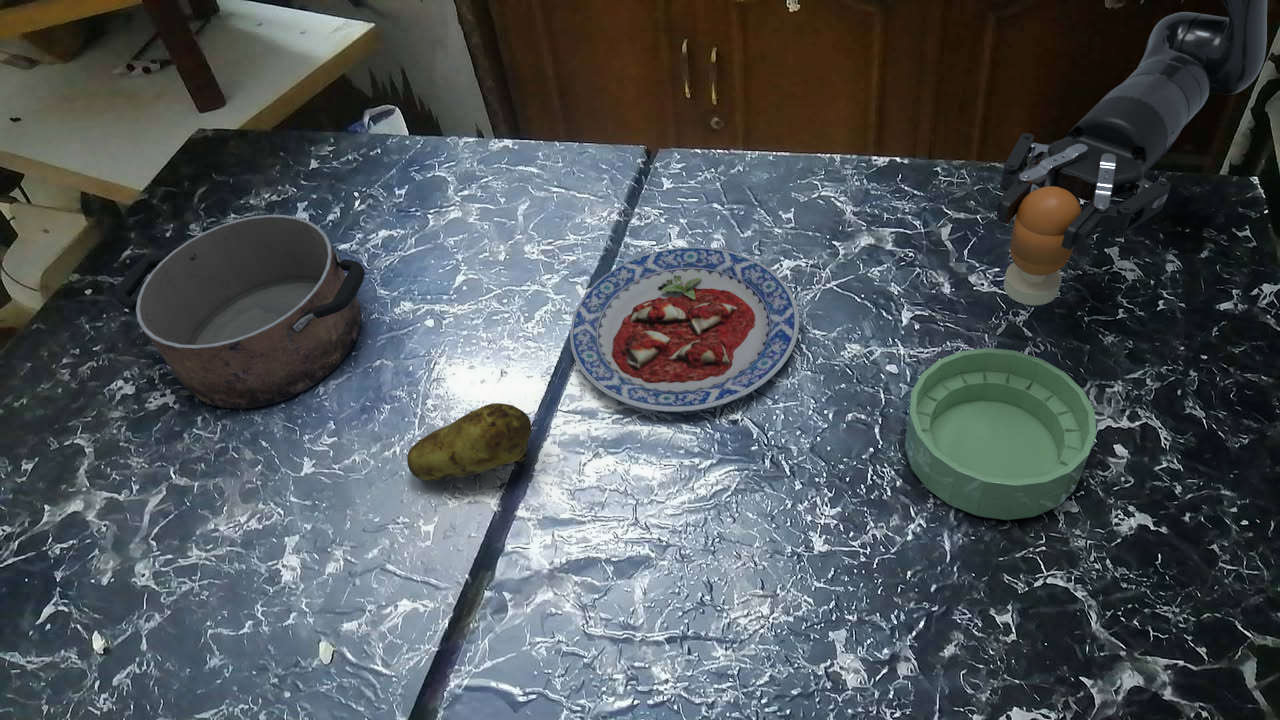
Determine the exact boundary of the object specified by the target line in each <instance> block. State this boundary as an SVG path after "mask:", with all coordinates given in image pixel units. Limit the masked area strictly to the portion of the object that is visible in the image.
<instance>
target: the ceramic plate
mask: <svg viewBox="0 0 1280 720" xmlns="http://www.w3.org/2000/svg"><path fill="white" fill-rule="evenodd" d="M799 313H800V312H799V309H798V304H797V302H796V299H795V297H794V295H793V293H792V291H791V289H790V288H789V286H788V285H787V284H786V283H785V281H784V280H783V279H782V278H781V276H779V275H778V274H777V273H776V272H775V271H774V270H772V269H770V268H769V267H768V266H766V265H764V264H763V263H761V262H759V261H758V260H756V259H755V258H752V257H749V256H748V255H744V254H740V253H738V252H734V251H730V250H727V249H722V248H716V247H715V248H714V247H708V246H707V247H705V246H686V247H685V246H684V247H673V248H667V249H662V250H661V249H660V250H657V251H656V250H655V251H652V252H649V253H645V254H644V255H641V256H638V257H635V258H633V259H630V260H627V261H625V262H624V263H622V264H620V265H618V266H617V267H615V268H614V269H612V270H610V271H609V272H607V273H606V274H605V275H603V276H602V277H601V278H600V279H598V280H597V281H596V282H595V283H594V284H593V285H592V286H591V287H590V288H589V289H588V290H587V292H586V293H585V294H584V296H583V297H582V298H581V300H580V302H579V303H578V305H577V307H576V309H575V312H574V313H573V317H572V319H571V324H570V331H569V333H570V334H569V337H570V348H571V351H572V355H573V358H574V361H575V362H576V364H577V366H578V368H579V370H580V371H581V372H582V374H583V376H585V378H586V379H587V380H588V381H589V382H590V383H591V384H592V385H594V387H596V388H597V389H599V390H600V391H601V392H603V394H606V395H607V396H609V397H611V398H613V399H615V400H617V401H620V402H622V403H623V404H626V405H629V406H633V407H637V408H640V409H645V410H651V411H658V412H669V413H670V412H672V413H673V412H674V413H675V412H676V413H677V412H678V413H679V412H694V411H699V410H706V409H710V408H714V407H719V406H722V405H725V404H728V403H731V402H733V401H736V400H738V399H741V398H742V397H744V396H747V395H748V394H751V393H752V392H753V391H755V390H757V389H758V388H760V387H761V386H763V385H765V383H767V382H768V381H769V380H770V379H772V378H773V377H774V376H775V375H776V374H777V372H779V371H780V370H781V369H782V368H783V367H784V364H785V363H786V362H787V361H788V359H789V357H790V356H791V354H792V353H793V350H794V348H795V346H796V342H797V338H798V335H799V330H800V314H799Z"/></svg>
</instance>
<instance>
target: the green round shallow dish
mask: <svg viewBox="0 0 1280 720" xmlns="http://www.w3.org/2000/svg"><path fill="white" fill-rule="evenodd" d="M1095 411H1096V410H1094V407H1093V406H1092V404H1091V402H1090V400H1089V398H1088V396H1087V394H1086V392H1085V391H1084V389H1083V388H1082V387H1080V385H1078V384H1077V382H1075V380H1073V378H1071V377H1070V376H1069V375H1068V374H1067V373H1066V372H1065V371H1063V370H1061V369H1060V368H1058V367H1057V366H1055V365H1053V364H1051V363H1049V362H1047V361H1046V360H1045V359H1042V358H1040V357H1037V356H1034V355H1030V354H1027V353H1024V352H1021V351H1018V350H1014V349H1004V348H1003V349H1002V348H993V347H982V348H976V349H968V350H960V351H958V352H955V353H952V354H950V355H947V356H945V357H942V358H940V359H938V360H937V361H936V362H934V363H933V364H931V365H930V366H929V367H928V368H927V369H926V370H924V371H923V372H922V373H921V374H920V375H919V377H918V379H917V380H916V383H915V385H914V386H913V388H912V390H911V392H910V399H909V405H908V412H907V418H906V425H905V436H904V437H905V438H904V449H905V450H904V451H905V454H906V456H907V459H908V463H909V466H910V469H911V470H912V472H913V473H914V474H915V475H916V477H917V479H919V481H920V482H921V484H923V486H924V487H925V489H927V490H928V491H929V492H930V493H932V494H933V495H935V496H936V497H937V498H939V499H940V500H942V501H943V502H945V503H946V504H947V505H949V506H950V507H954V508H956V509H959V510H961V511H964V512H966V513H969V514H971V515H973V516H976V517H982V518H987V519H989V518H990V519H996V520H1002V521H1009V520H1010V521H1011V520H1018V519H1027V518H1035V517H1037V516H1039V515H1042V514H1044V513H1046V512H1048V511H1050V510H1053V509H1056V508H1057V507H1059V506H1060V505H1062V504H1063V503H1064V502H1065V501H1066V500H1067V498H1069V497H1070V496H1071V494H1073V493H1074V492H1075V491H1076V489H1077V486H1078V484H1079V481H1080V480H1081V476H1082V474H1083V471H1084V468H1085V466H1086V463H1087V462H1088V461H1087V460H1088V458H1089V455H1090V454H1091V451H1092V448H1093V445H1094V444H1095V440H1096V438H1097V432H1098V431H1097V420H1096V412H1095Z"/></svg>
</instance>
